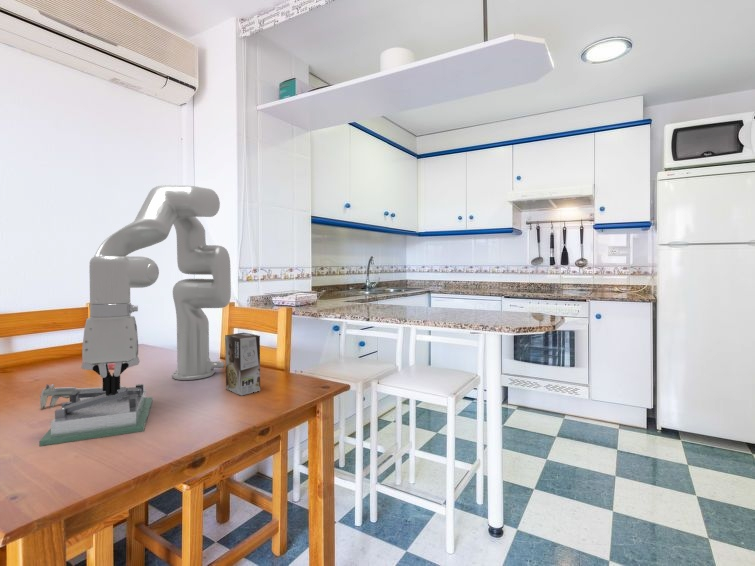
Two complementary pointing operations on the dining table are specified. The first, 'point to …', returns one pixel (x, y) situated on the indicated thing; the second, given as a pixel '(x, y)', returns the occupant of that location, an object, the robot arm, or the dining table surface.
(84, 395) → the strap
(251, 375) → the coffee box
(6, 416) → the dining table surface
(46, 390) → the caliper
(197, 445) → the dining table surface
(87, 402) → the strap
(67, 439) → the base
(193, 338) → the robot arm
